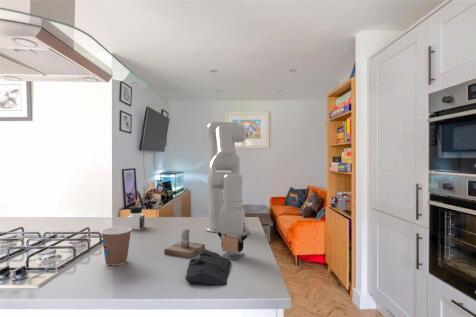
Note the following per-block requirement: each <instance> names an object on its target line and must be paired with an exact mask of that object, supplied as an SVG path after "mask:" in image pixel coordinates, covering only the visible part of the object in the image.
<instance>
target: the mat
mask: <svg viewBox="0 0 476 317" xmlns="http://www.w3.org/2000/svg"><path fill="white" fill-rule="evenodd" d="M244 255H245V253H243V252H237V253H236V252H228V251H225V253H223V254H222V255H220V256H221V257H223V258H225V259H228V260H230V261H236V262H237V261H239V260H240V259H241V258H242V257H243V256H244Z"/></svg>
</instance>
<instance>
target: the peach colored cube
mask: <svg viewBox="0 0 476 317" xmlns="http://www.w3.org/2000/svg"><path fill="white" fill-rule="evenodd" d="M238 242H239V238H238V235H229V234H227V235H226V236H225V237H223V238H222V240H221V248H222V252H227V251H228V252H236V253H239V252H238Z"/></svg>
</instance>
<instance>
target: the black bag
mask: <svg viewBox="0 0 476 317" xmlns="http://www.w3.org/2000/svg"><path fill="white" fill-rule="evenodd" d="M221 256H222V255H221V254H219V253H217V252H214V251H211V250H207V249H204V250H202V251H201V252H199V257H198V258H193V259H192V258H190V260H189V262H188V267H187V270H186V275H185V280H186V282H188V283H191V284H193V283H194V284H203V285H212V286H217V287H218V286H226V285H227V284H228V279H229V275H230V268H231V260H229V259H225V258H223V257H221Z"/></svg>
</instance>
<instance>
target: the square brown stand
mask: <svg viewBox="0 0 476 317" xmlns="http://www.w3.org/2000/svg"><path fill="white" fill-rule="evenodd" d="M180 231H181V239H180V241H178V242H176V243H175V244H172V245H170V246H168V247H166V248H164V250H163V252H164V255H167V256H168V255H169V256H173V257H174V256H175V257H181V258H187V259H192V258H193V257H195V256H196V255H198V254H200V253H201V252H202V251H203V250H206V244H205V243H199V242H198V243H196V242H191V241H190V228H183V229H181V230H180Z"/></svg>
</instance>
